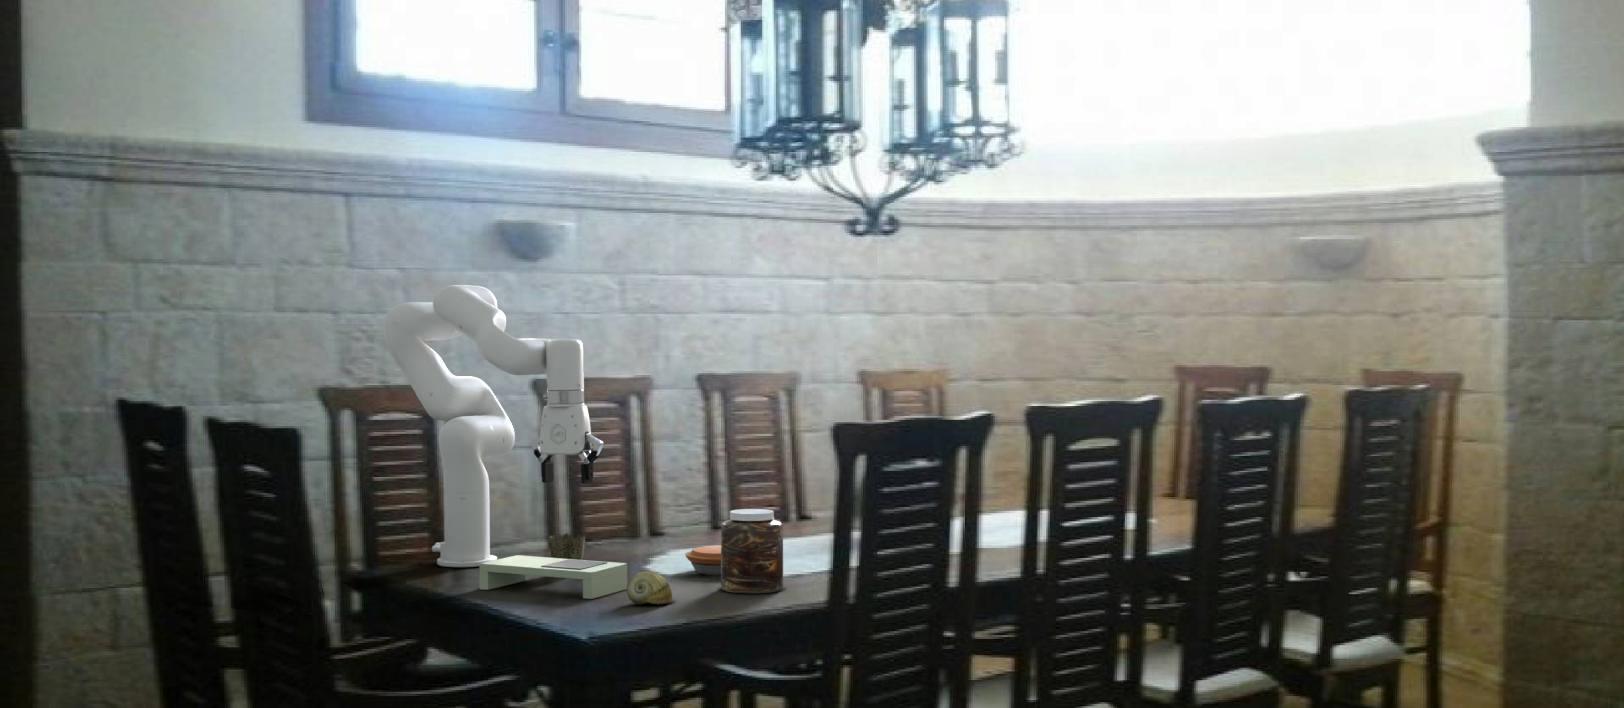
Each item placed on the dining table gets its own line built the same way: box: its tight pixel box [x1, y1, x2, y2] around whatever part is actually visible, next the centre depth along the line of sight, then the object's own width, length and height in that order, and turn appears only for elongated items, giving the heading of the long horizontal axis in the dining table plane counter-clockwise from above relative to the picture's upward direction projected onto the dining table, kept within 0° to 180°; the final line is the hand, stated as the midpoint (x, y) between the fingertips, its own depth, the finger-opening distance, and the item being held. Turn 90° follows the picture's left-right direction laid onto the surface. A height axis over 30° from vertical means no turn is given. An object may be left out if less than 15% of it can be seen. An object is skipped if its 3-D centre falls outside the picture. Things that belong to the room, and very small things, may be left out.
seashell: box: [626, 570, 673, 606], centre depth 277 cm, size 10×7×8 cm
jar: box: [720, 508, 784, 595], centre depth 292 cm, size 12×12×15 cm
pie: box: [684, 544, 721, 576], centre depth 314 cm, size 15×16×5 cm
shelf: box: [478, 554, 628, 600], centre depth 293 cm, size 26×12×5 cm, turn 64°
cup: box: [548, 532, 586, 560], centre depth 311 cm, size 8×7×8 cm
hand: (567, 482), depth 311 cm, fingers open, 9 cm apart
